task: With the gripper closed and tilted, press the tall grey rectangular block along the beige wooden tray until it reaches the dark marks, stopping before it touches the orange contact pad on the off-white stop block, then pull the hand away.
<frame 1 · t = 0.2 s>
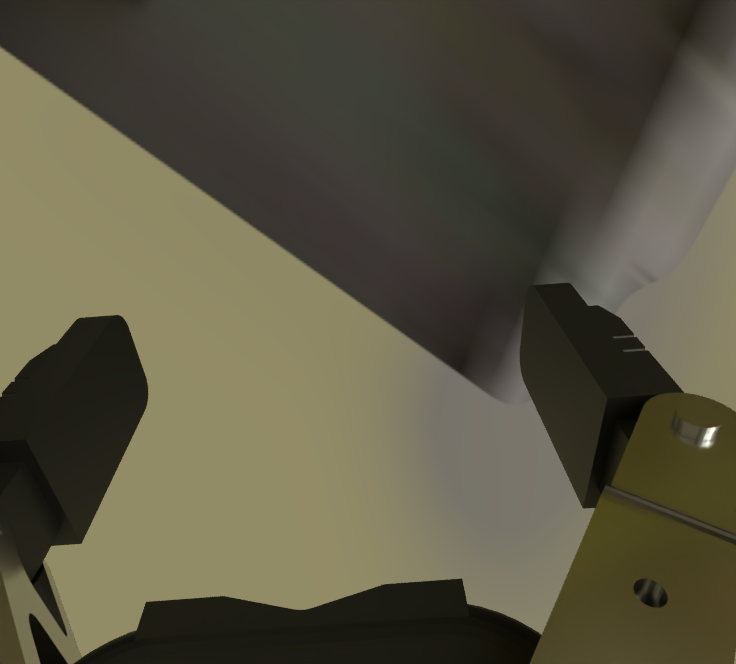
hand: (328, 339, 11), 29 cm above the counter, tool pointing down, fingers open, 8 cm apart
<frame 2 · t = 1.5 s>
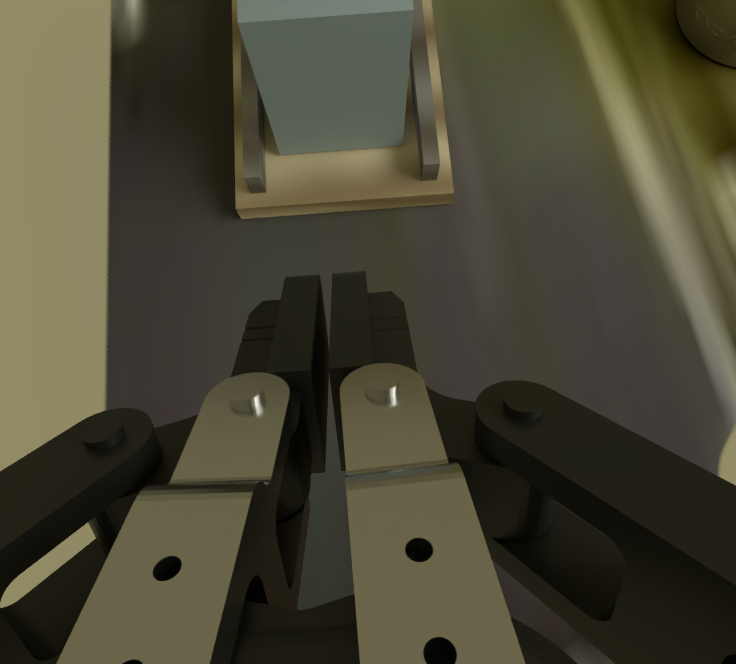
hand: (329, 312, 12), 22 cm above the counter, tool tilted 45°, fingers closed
beige wooden tray: (334, 45, 39), on the counter
grey rectangular block: (332, 56, 30), point 7 cm above the counter, slide at 0.0 cm
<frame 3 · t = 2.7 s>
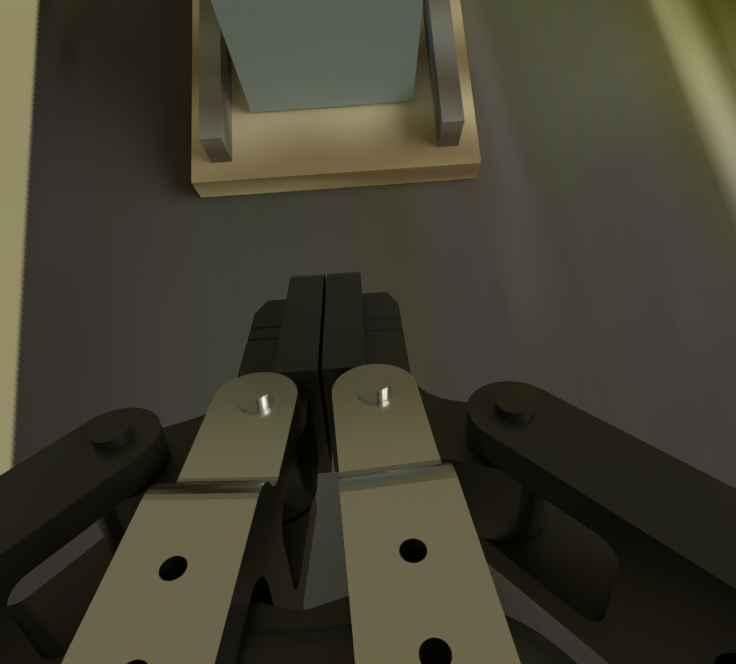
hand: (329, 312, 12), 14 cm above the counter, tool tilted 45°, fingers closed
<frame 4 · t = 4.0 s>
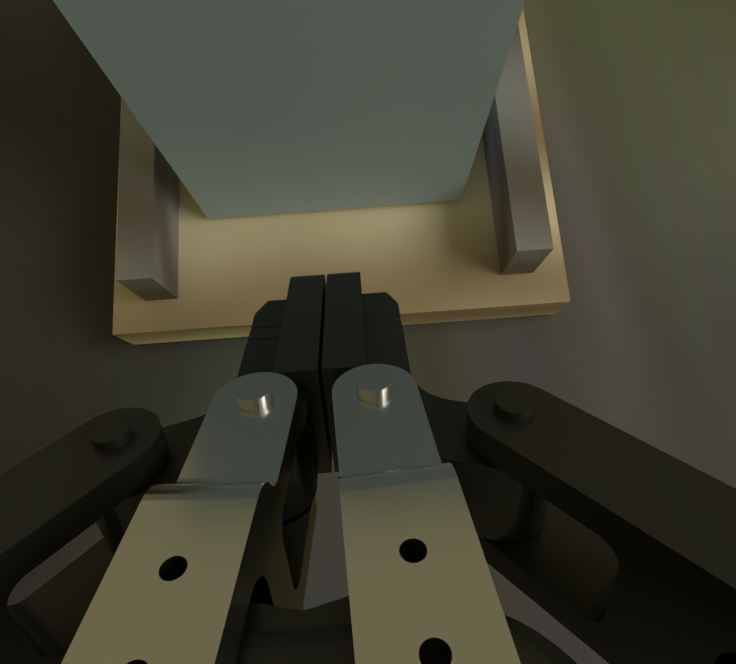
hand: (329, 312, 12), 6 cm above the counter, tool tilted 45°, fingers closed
beige wooden tray: (323, 2, 21), on the counter
grey rectangular block: (309, 0, 12), point 7 cm above the counter, slide at 0.0 cm
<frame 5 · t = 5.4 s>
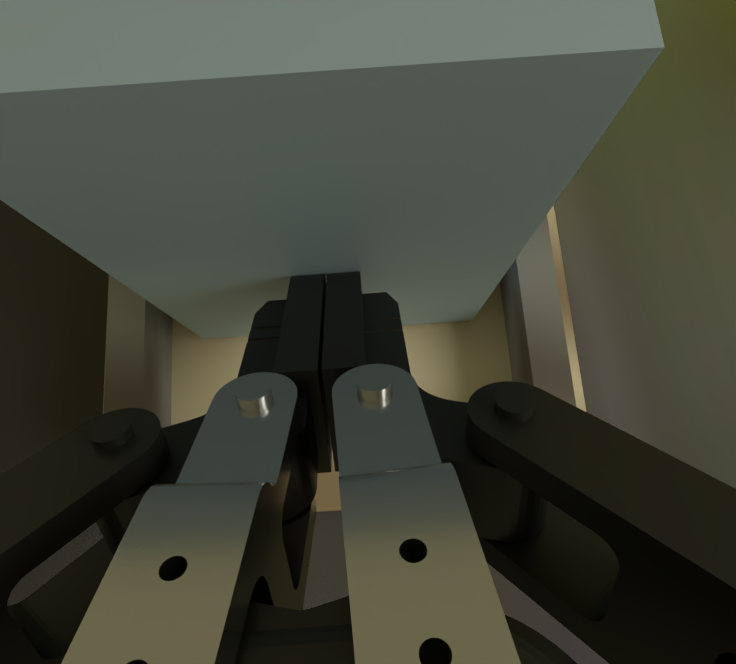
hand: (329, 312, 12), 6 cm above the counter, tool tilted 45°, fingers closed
beige wooden tray: (329, 127, 20), on the counter
grey rectangular block: (313, 152, 11), point 7 cm above the counter, slide at 1.6 cm, touching gripper
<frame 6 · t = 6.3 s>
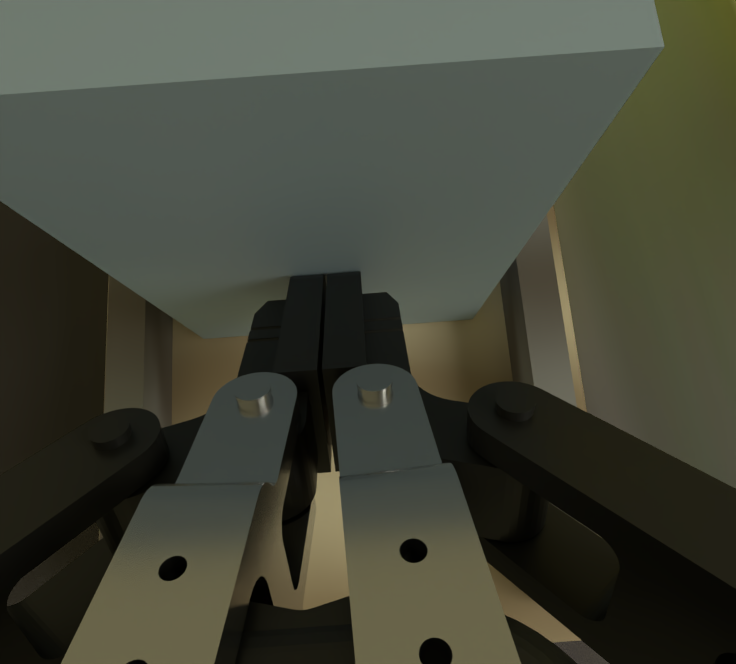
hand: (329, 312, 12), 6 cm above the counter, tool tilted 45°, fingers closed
beige wooden tray: (334, 223, 19), on the counter
grey rectangular block: (312, 152, 11), point 7 cm above the counter, slide at 5.4 cm, touching gripper
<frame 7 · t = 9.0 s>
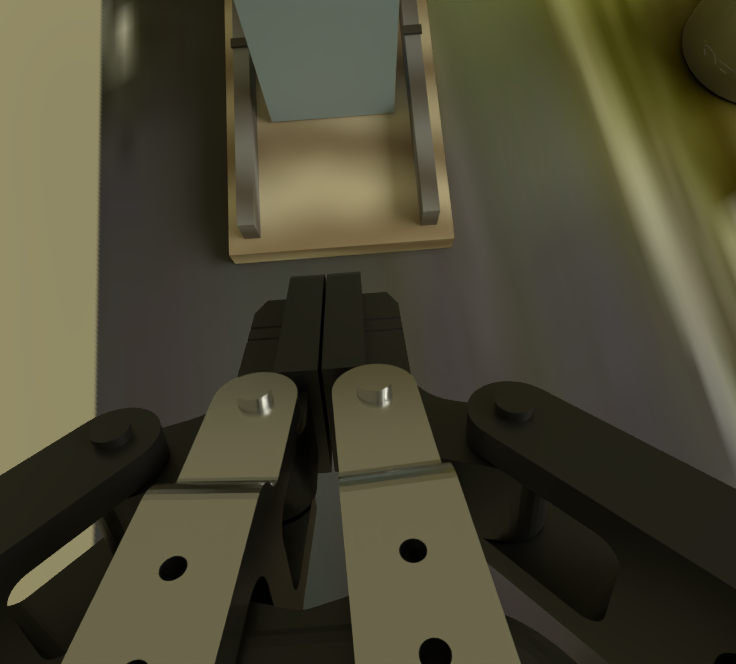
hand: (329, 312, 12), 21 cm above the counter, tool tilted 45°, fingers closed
beige wooden tray: (331, 81, 38), on the counter
grey rectangular block: (322, 18, 31), point 7 cm above the counter, slide at 5.5 cm
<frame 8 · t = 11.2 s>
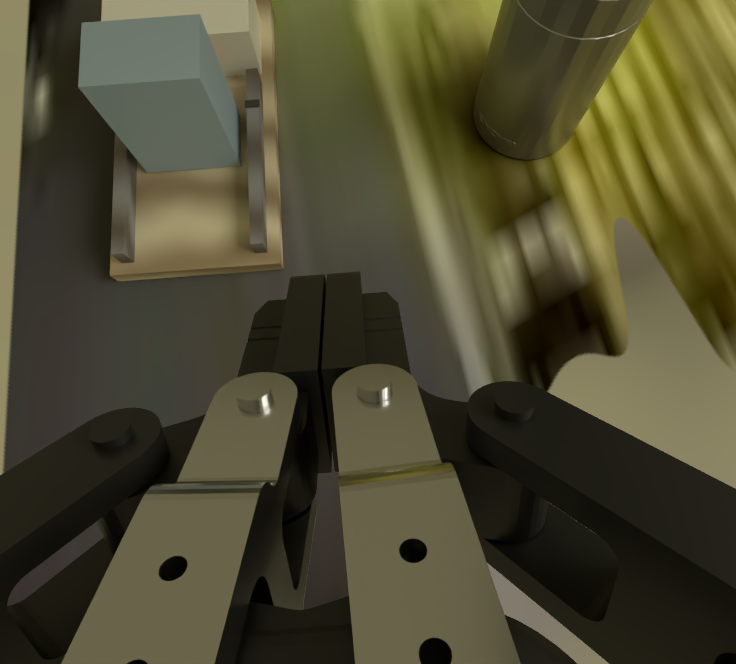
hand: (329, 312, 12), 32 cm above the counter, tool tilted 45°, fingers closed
stop block: (185, 33, 47), point 4 cm above the counter
beige wooden tray: (200, 138, 49), on the counter
grey rectangular block: (170, 102, 41), point 7 cm above the counter, slide at 5.5 cm
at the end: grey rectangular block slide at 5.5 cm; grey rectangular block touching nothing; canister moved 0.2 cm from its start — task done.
